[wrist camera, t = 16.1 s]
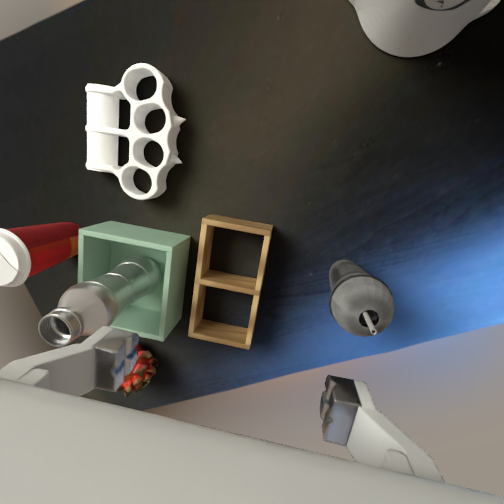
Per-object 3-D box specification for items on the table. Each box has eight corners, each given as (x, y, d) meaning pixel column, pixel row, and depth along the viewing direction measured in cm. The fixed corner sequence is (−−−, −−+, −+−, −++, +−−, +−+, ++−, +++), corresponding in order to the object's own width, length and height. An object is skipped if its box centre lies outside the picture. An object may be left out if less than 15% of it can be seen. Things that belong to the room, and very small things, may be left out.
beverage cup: (338, 304, 48) (371, 389, 29) (310, 269, 47) (324, 334, 28) (378, 277, 46) (441, 349, 27) (349, 241, 46) (393, 289, 26)
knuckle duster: (95, 64, 44) (193, 75, 43) (95, 189, 49) (183, 203, 47) (80, 55, 41) (185, 67, 39) (81, 190, 45) (175, 205, 44)
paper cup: (42, 223, 51) (-46, 240, 38) (81, 209, 50) (3, 222, 36) (62, 266, 53) (-16, 297, 39) (100, 253, 51) (33, 281, 38)
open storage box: (110, 220, 50) (78, 228, 42) (190, 236, 48) (172, 247, 41) (106, 302, 53) (76, 322, 46) (181, 317, 52) (163, 341, 45)
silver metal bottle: (163, 293, 51) (86, 365, 31) (125, 285, 51) (25, 352, 32) (166, 256, 49) (86, 308, 30) (126, 249, 50) (22, 296, 30)
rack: (211, 213, 47) (202, 218, 42) (273, 225, 46) (271, 231, 42) (197, 321, 52) (187, 336, 47) (253, 333, 51) (249, 350, 47)
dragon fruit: (173, 358, 56) (118, 344, 59) (158, 338, 50) (97, 324, 53) (152, 407, 51) (93, 389, 54) (132, 392, 45) (66, 373, 48)
